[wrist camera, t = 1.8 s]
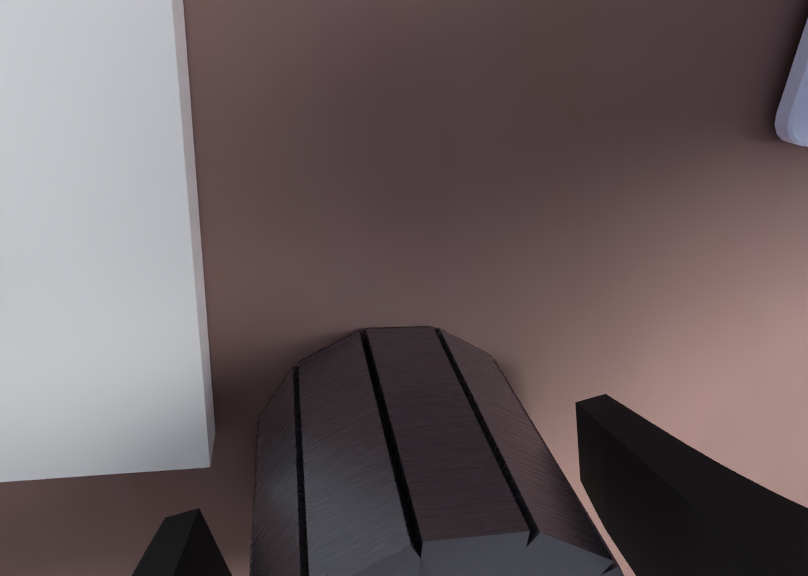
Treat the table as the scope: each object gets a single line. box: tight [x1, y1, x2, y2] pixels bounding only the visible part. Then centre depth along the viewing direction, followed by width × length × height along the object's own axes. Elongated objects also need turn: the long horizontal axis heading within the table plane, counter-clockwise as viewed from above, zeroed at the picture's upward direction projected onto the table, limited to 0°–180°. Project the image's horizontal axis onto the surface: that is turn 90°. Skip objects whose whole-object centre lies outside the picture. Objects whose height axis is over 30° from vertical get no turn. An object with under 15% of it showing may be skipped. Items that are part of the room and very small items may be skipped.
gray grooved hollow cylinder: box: [250, 327, 624, 576], centre depth 10 cm, size 5×5×5 cm
